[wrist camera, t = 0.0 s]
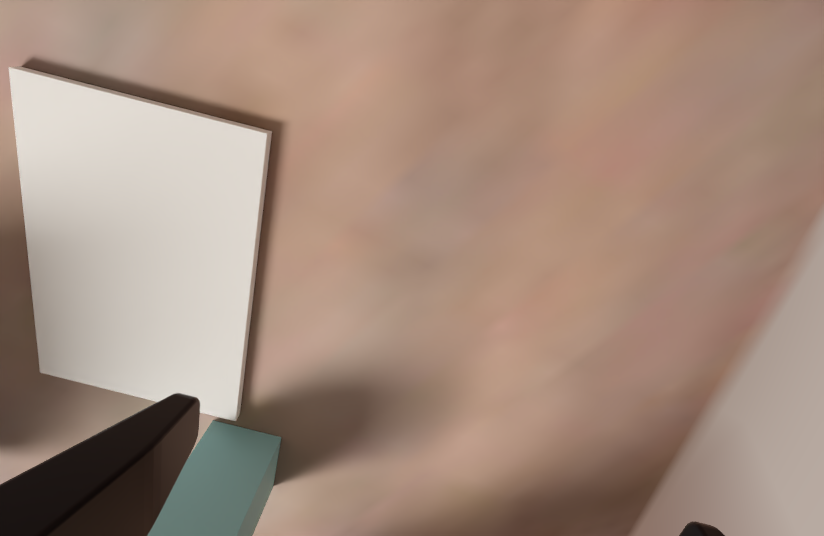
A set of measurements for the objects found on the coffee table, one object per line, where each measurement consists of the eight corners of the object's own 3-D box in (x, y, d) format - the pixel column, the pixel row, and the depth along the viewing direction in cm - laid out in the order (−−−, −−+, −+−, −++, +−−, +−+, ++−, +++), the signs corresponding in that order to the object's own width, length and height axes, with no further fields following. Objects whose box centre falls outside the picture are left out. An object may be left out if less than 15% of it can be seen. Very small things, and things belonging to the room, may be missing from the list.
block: (273, 485, 30) (212, 629, 23) (208, 469, 30) (127, 608, 23) (281, 437, 29) (218, 574, 21) (213, 420, 29) (126, 552, 21)
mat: (240, 413, 28) (235, 421, 28) (48, 366, 28) (39, 372, 27) (271, 131, 21) (266, 133, 21) (20, 66, 21) (8, 67, 21)
